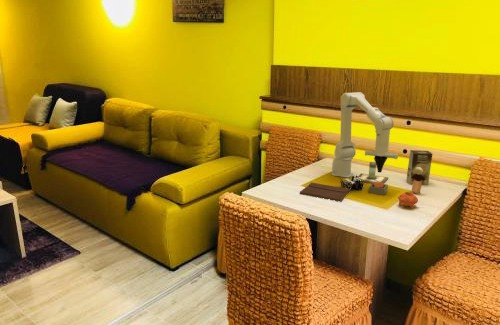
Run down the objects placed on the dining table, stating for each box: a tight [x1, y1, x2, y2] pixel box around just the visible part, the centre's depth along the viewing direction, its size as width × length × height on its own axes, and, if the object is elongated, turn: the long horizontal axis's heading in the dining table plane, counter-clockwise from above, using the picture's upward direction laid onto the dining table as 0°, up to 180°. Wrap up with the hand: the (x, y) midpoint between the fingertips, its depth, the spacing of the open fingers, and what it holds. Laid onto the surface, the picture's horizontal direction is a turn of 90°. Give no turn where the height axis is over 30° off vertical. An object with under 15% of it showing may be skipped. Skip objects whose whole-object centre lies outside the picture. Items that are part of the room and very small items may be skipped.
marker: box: [368, 161, 377, 179], centre depth 207 cm, size 3×3×8 cm
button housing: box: [368, 183, 389, 196], centre depth 192 cm, size 7×7×3 cm
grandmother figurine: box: [409, 167, 427, 195], centre depth 189 cm, size 8×4×13 cm, turn 62°
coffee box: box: [405, 149, 433, 186], centre depth 202 cm, size 9×6×16 cm
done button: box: [374, 182, 385, 188], centre depth 191 cm, size 4×4×2 cm
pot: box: [398, 191, 419, 209], centre depth 174 cm, size 8×8×7 cm
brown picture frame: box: [357, 172, 389, 185], centre depth 209 cm, size 14×12×1 cm
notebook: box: [299, 182, 352, 203], centre depth 191 cm, size 15×20×2 cm
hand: (379, 171), depth 190 cm, fingers closed
